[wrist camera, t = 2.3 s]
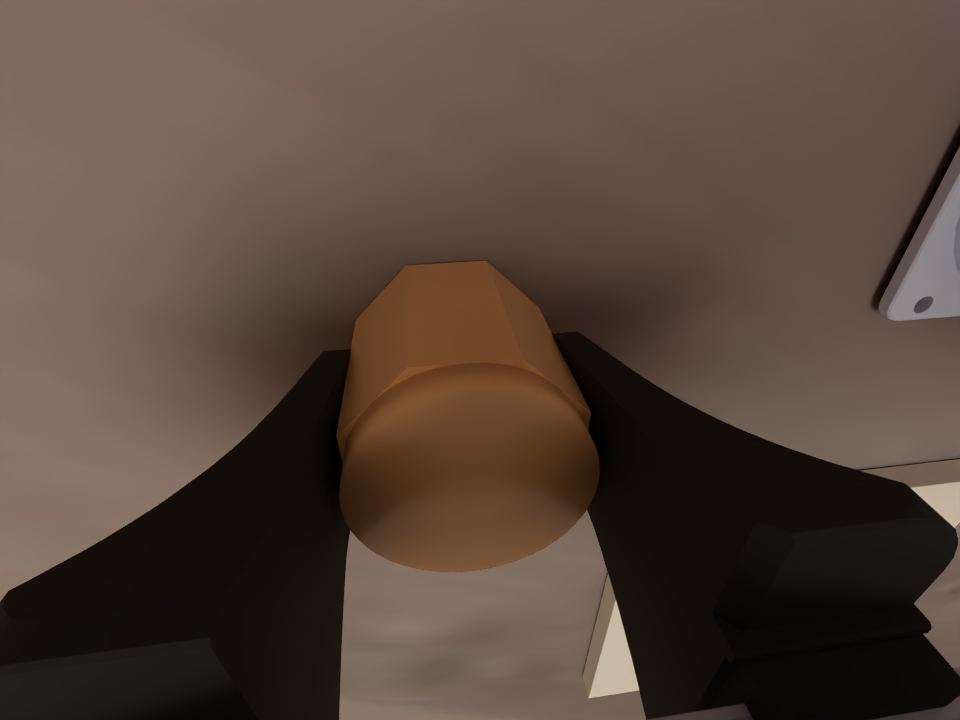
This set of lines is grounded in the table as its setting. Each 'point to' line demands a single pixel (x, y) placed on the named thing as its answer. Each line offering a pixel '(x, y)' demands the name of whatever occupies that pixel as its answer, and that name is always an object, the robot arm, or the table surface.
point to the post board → (609, 665)
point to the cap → (460, 424)
